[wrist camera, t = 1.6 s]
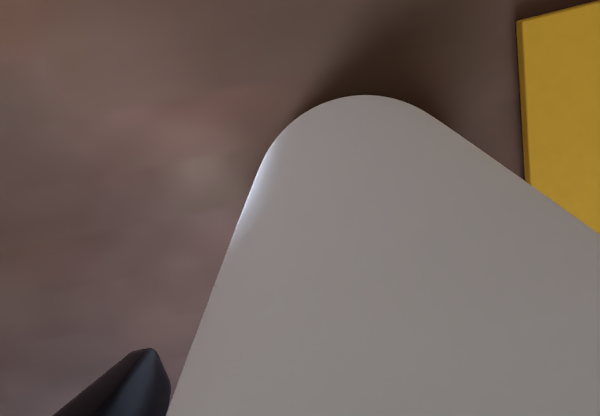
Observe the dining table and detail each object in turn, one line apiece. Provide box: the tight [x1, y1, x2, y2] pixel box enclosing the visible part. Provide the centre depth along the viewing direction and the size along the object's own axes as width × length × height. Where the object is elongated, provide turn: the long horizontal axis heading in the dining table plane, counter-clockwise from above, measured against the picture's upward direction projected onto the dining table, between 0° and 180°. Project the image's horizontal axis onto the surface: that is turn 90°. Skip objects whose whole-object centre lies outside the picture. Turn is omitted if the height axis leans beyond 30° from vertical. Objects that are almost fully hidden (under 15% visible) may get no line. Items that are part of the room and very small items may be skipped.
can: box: [166, 95, 600, 416], centre depth 8 cm, size 6×6×12 cm
